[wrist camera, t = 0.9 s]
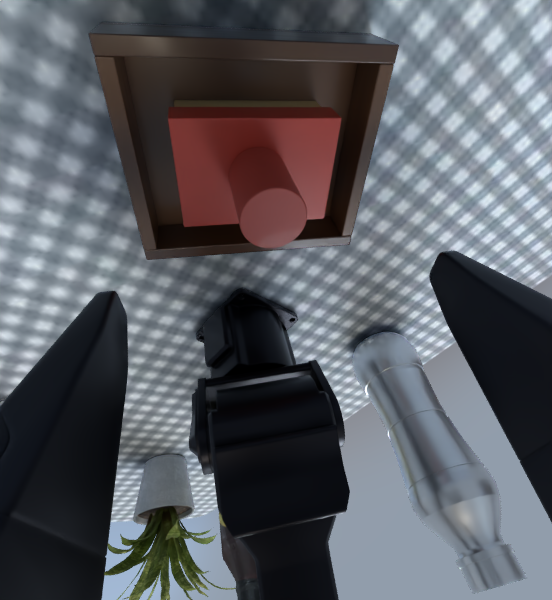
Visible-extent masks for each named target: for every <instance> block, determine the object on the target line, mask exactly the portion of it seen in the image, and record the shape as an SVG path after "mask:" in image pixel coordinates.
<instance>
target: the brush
mask: <svg viewBox="0 0 552 600" xmlns="http://www.w3.org/2000/svg"><path fill="white" fill-rule="evenodd" d="M341 119H342V118H341V117H340V116H339V115H338V114H337V113H336V112H335V111H334V110H333V109H332V108H331V107H321V106H320V105H319V104H318V103H317V102H316V101H253V100H174V107H169V108H168V124H169V131H170V137H171V144H172V151H173V157H174V164H175V171H176V177H177V184H178V191H179V197H180V204H181V211H182V217H183V224H184V227H191V226H208V225H225V224H239V225H240V229H241V232H242V234H243V235H244V237H245V238H246V239H247V240H248V241H249V242H251V243H252V244H254V245H256V246H259V247H262V248H277V247H281V246H284V245H286V244H288V243H290V242H292V241H293V240H294V239H295V238H296V237H298V236H299V234H300V233H301V232H302V230H303V228H304V226H305V224H306V221H307V220H308V219H323V218H324V216H325V210H326V205H327V199H328V193H329V187H330V182H331V176H332V170H333V165H334V159H335V153H336V148H337V142H338V136H339V130H340V125H341Z"/></svg>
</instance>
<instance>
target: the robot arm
mask: <svg viewBox="0 0 552 600" xmlns="http://www.w3.org/2000/svg"><path fill="white" fill-rule="evenodd" d="M429 278H430V282H431V285H432V287H433V290H434V292H435V295H436V297H437V300H438V302H439V305H440V307H441V310H442V312H443V315H444V317H445V320H446V322H447V324H448V326H449V328H450V330H451V332H452V334H453V336H454V338H455V340H456V342H457V343H458V345H459V347H460V349H461V351H462V353H463V355H464V357H465V359H466V361H467V362H468V364H469V366H470V368H471V370H472V371H473V374H474V376H475V377H476V380H477V381H478V383H479V385H480V387H481V389H482V391H483V393H484V395H485V396H486V398H487V400H488V402H489V404H490V406H491V408H492V410H493V412H494V413H495V416H496V417H497V419H498V421H499V423H500V425H501V427H502V429H503V431H504V432H505V434H506V436H507V438H508V440H509V442H510V444H511V445H512V448H513V450H514V451H515V453H516V455H517V457H518V459H519V460H520V463H521V465H522V467H523V469H524V471H525V473H526V474H527V477H528V478H529V480H530V482H531V484H532V486H533V488H534V490H535V492H536V494H537V495H538V497H539V499H540V501H541V503H542V505H543V507H544V509H545V511H546V512H547V514H548V516H549V518H550V520H551V522H552V299H551V298H549V297H547V296H545V295H543V294H541V293H539V292H537V291H535V290H533V289H531V288H529V287H527V286H525V285H523V284H521V283H519V282H517V281H515V280H513V279H511V278H509V277H507V276H505V275H503V274H501V273H499V272H497V271H495V270H493V269H491V268H489V267H487V266H485V265H483V264H481V263H479V262H477V261H475V260H473V259H471V258H469V257H467V256H465V255H463V254H461V253H459V252H457V251H445V252H441V253H440V254H439V255H438V256H437V259H436V261H435V263H434V265H433V267H432V269H431V271H430V275H429ZM241 294H244V295H241ZM240 295H241V296H240ZM291 318H292V319H291ZM297 321H298V317H297V314H296V313H294V312H292V311H290V310H288V309H285V308H283V307H281V306H279V305H277V304H275V303H273V302H271V301H269V300H267V299H265V298H263V297H261V296H258V295H256V294H254V293H252V292H250V291H248V290H246V289H243V288H241V289H238V290H236V291H235V292H234V294H233V295H232V296H231V297H230V298H229V299H228V300H227V301H226V302H225V303H224V304H223V305H222V306H221V307H219V308H218V309H217V310H216V311H215V312H214V314H213V315H212V316H211V317H210V318H209V319H208V320H207V321H206V322H205V323H204V324H203V327H202V328H201V329H200V330H199V331H198V332H197V333H196V338H197V340H198V341H200V342H203V343H204V347H205V361H206V365H207V367H210V370H211V378H209V379H206V378H202V379H198V389H195V393H194V394H192V423H191V429H190V436H189V449H190V451H192V452H193V453H194V454H195V455H197V456H198V460H199V463H201V466H202V470H203V474H204V475H206V474H211V473H214V479H215V487H216V495H217V504H218V509H219V512H220V514H221V516H222V520H223V522H224V524H225V525H226V527H227V529H228V530H229V532H230V533H231V535H232V536H233V538H234V539H236V538H239V540H240V541H241V542H242V544H243V545H244V546H245V548H246V549H247V551H248V552H249V553H250V555H251V556H252V557H253V559H254V560H255V565H256V573H257V580H258V588H259V596H260V600H338V594H337V589H336V584H335V578H334V573H333V568H332V562H331V557H330V551H329V545H328V541H329V538H330V534H331V531H332V528H333V525H334V521H335V518H336V515H337V514H342V513H345V512H346V510H347V504H348V499H349V493H350V490H349V486H348V482H347V478H346V474H345V471H344V466H343V461H342V456H341V450H340V447H342V446H343V445H344V441H345V431H344V423H343V418H342V413H341V410H340V406H339V404H338V401H337V399H336V396H335V394H334V393H333V391H332V389H331V387H330V385H329V383H328V381H327V379H326V378H325V376H324V374H323V372H322V370H321V368H320V366H319V364H318V363H317V361H316V360H313V361H309V362H308V363H302V364H296V361H295V358H294V354H293V351H292V347H291V344H290V341H289V337H288V334H287V330H288V329H289V328H290V327H291V326H292V325H293V324H295V323H296V322H297ZM127 375H128V339H127V315H126V312H125V309H124V307H123V305H122V303H121V300H120V298H119V296H118V294H117V293H116V292H115V291H107V292H100V293H98V294H96V295H95V296H94V298H93V299H92V300H91V301H90V302H89V303H88V305H87V306H86V307H85V308H84V309H83V310H82V312H81V313H80V314H79V315H78V316H77V317H76V319H75V320H74V321H73V322H72V323H71V324H70V326H69V327H68V328H67V329H66V330H65V331H64V332H63V334H62V335H61V336H60V337H59V338H58V339H57V341H56V342H55V343H54V344H53V345H52V346H51V348H50V349H49V350H48V351H47V352H46V353H45V355H44V356H43V357H42V358H41V359H40V360H39V362H38V363H37V364H36V365H35V366H34V367H33V368H32V370H31V371H30V372H29V373H28V374H27V375H26V377H25V378H24V379H23V380H22V381H21V382H20V384H19V385H18V386H17V387H16V388H15V389H14V391H13V392H12V393H11V394H10V395H9V396H8V398H7V399H6V400H5V401H4V402H3V403H2V405H1V406H0V600H101V598H102V590H103V582H104V574H105V565H106V557H105V556H106V554H107V547H108V538H109V530H110V521H111V513H112V504H113V496H114V487H115V479H116V470H117V462H118V453H119V445H120V436H121V428H122V419H123V411H124V402H125V394H126V385H127Z"/></svg>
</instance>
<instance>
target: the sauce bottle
mask: <svg viewBox="0 0 552 600" xmlns="http://www.w3.org/2000/svg"><path fill="white" fill-rule="evenodd" d="M219 519H220V532H221V543H222V555H223V560H224V561H225V562H226V565H227V566H228V568H229V570H230V571H231V573H232V574H233V577H234V578H235V581H236V592H237V596H238V600H260V596H259V588H258V580H257V573H256V565H255V560H254V559H253V557H252V556H251V555H250V553H249V552H248V551H247V549H246V548H245V546H244V545H243V544H242V542H241V541H240V540H239V538H236V539H234V538H233V536H232V535H231V533H230V532H229V530H228V529H227V527H226V525H225V524H224V522H223V520H222V516H221V514H220V512H219Z"/></svg>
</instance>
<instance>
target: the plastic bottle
mask: <svg viewBox="0 0 552 600" xmlns="http://www.w3.org/2000/svg"><path fill="white" fill-rule="evenodd" d="M352 365H353V369H354V374H355V377H356V378H357V380H358V382H359V383H360V385H361V387H362V388H363V390H364V391H365V393H366V394H367V395H368V396H369V398H370V400H371V402H372V403H373V406H374V407H375V409H376V411H377V413H378V415H379V417H380V418H381V420H382V422H383V424H384V426H385V429H386V431H387V434H388V436H389V437H390V442H391V444H392V447H393V449H394V452H395V454H396V457H397V460H398V463H399V467H400V470H401V473H402V477H403V480H404V483H405V487H406V490H407V493H408V494H409V500H410V502H411V505H412V508H413V510H414V512H415V513H416V514H417V516H418V517H419V518H420V520H421V521H422V522H423V523H424V524H425V525H426V526H427V527H428V528H429V529H430V530H432V531H433V533H435V534H436V535H437V536H438V537H440V538H441V539H442V540H443V541H445V542H446V543H447V544H448V545H450V546H451V547H452V548H453V549H454V550H455V552H456V553H457V555H458V557H459V559H458V560H456V563H457V565H458V567H459V569H461V571H462V573H463V575H464V577H465V579H466V581H467V583H468V586H469V588H470V590H471V591H472V593H478V592H481V591H485V590H488V589H492V588H495V587H499V586H503V585H506V584H509V583H513V582H516V581H520V580H523V579H526V578H527V577H526V575H525V572H524V571H523V569H522V567H521V565H520V563H519V562H518V560H517V558H516V556H515V555H514V553H513V552H514V550H513V548H512V546H511V544H507V545H506V544H504V541H503V539H502V537H501V534H500V527H501V501H500V494H499V490H498V488H497V484H496V481H495V480H494V478H493V477H492V476H491V474H490V473H489V471H488V470H487V469H486V468H485V467H484V465H483V463H482V462H481V461H480V459H479V458H478V457H477V456H476V455H475V453H474V452H473V450H472V449H471V448H470V447H469V445H468V444H467V443H466V441H465V440H464V439H463V437H462V436H461V435H460V433H459V432H458V430H457V429H456V427H455V426H454V424H453V423H452V421H451V420H450V418H449V417H447V415H446V412H445V410H444V409H443V408H442V406H441V405H440V403H439V401H438V399H437V397H436V395H435V393H434V391H433V389H432V387H431V384H430V383H429V380H428V379H427V376H426V375H425V373H424V369H423V365H422V362H421V360H420V358H419V355H418V353H417V351H416V349H415V348H414V347H413V345H412V344H411V343H410V342H409V341H408V340H407V339H406V338H405V337H404V336H402V335H400V334H397V333H394V332H380V333H377V334H374V335H371V336H369V337H368V338H366V339H364V340H363V341H362V342H360V343H359V344H358V346H357V347H356V348H355V350H354V353H353V357H352Z"/></svg>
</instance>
